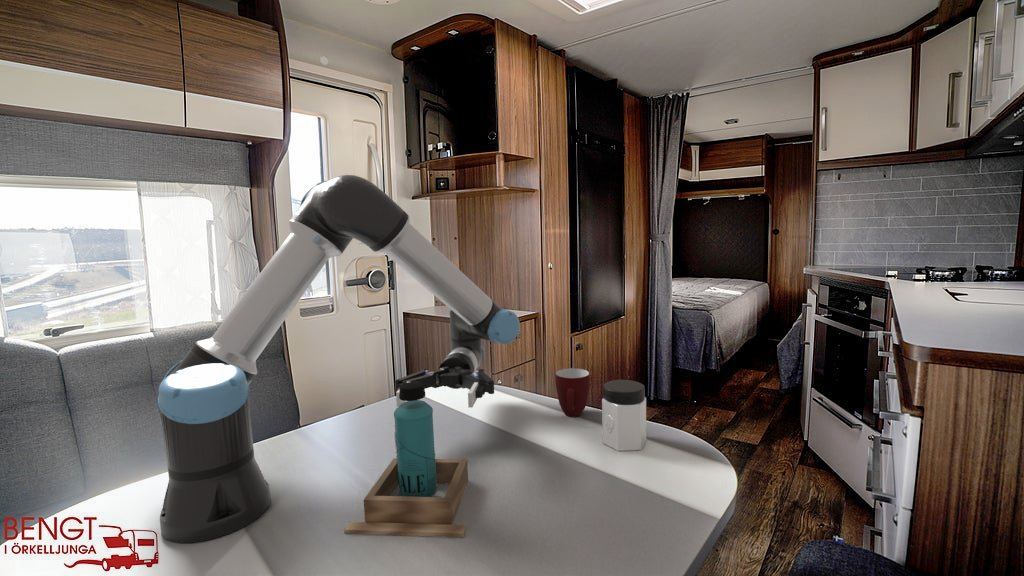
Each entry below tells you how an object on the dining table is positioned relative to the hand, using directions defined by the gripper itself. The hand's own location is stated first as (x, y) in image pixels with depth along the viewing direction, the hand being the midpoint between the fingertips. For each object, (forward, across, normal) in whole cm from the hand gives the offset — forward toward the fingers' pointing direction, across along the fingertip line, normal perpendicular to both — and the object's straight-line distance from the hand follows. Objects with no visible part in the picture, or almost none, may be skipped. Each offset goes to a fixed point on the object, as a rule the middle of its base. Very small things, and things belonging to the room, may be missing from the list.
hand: (433, 399), depth 89 cm
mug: (-26, -26, -13) cm, 39 cm away
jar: (-12, -36, -13) cm, 40 cm away
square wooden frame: (+12, 0, -13) cm, 18 cm away
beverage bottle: (+11, 0, -14) cm, 17 cm away
